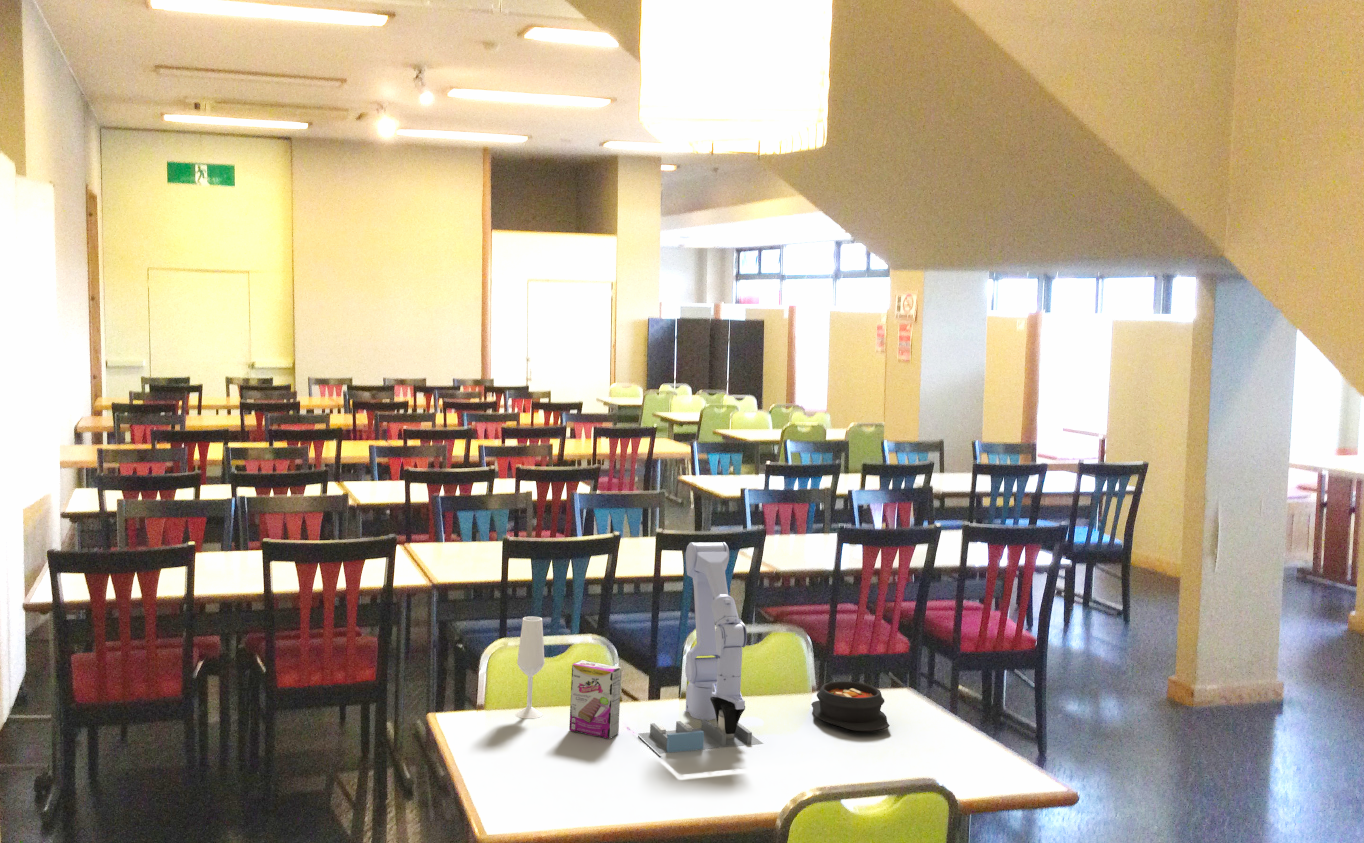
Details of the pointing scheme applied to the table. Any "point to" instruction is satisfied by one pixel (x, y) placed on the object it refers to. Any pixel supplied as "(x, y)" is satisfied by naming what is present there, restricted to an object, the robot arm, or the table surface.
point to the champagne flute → (531, 659)
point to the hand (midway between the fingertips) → (726, 730)
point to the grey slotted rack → (694, 738)
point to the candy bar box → (595, 699)
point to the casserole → (851, 706)
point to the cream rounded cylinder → (723, 725)
